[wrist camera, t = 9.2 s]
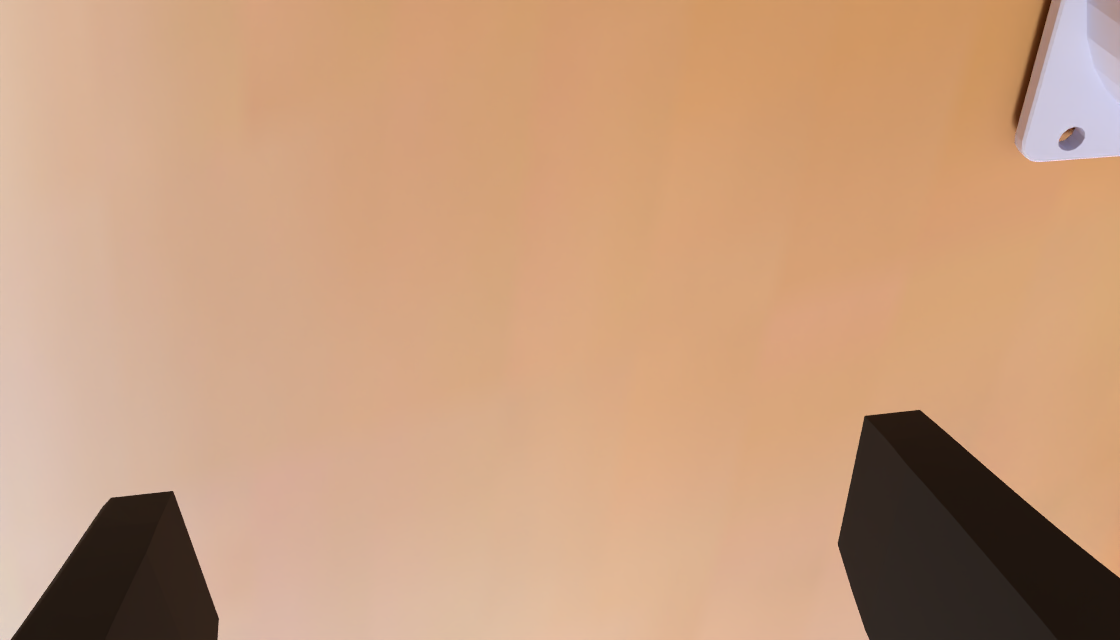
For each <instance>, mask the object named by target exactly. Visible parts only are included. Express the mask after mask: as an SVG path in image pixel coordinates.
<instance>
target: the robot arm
mask: <svg viewBox="0 0 1120 640" xmlns="http://www.w3.org/2000/svg"><path fill="white" fill-rule="evenodd" d="M1073 127H1075V129H1074V131H1073V133H1072V135H1071V136H1069V137H1068V138H1067V139H1066V140H1063V141H1060V142H1059V139H1060V137H1061V135H1062V134H1063V133H1064V132H1065V131H1066V130H1068V129H1070V128H1073ZM1015 144H1016V147H1017V149H1018V150H1019V151H1020V152H1021V153H1022V154H1023V155H1024V156H1025V157H1026V158H1027V159H1029V160H1030V161H1036V162H1046V161H1060V160H1073V159H1087V158H1100V157H1114V156H1120V0H1052V1H1051V5H1050V9H1049V12H1048V16H1047V20H1046V23H1045V27H1044V31H1043V34H1042V38H1041V42H1040V45H1039V49H1038V53H1037V56H1036V60H1035V64H1034V67H1033V71H1032V75H1031V78H1030V82H1029V86H1028V90H1027V93H1026V97H1025V101H1024V104H1023V108H1022V112H1021V115H1020V119H1019V123H1018V126H1017V130H1016V134H1015ZM838 547H839V550H840V553H841V556H842V560H843V563H844V566H845V569H846V573H847V576H848V579H849V582H850V586H851V589H852V592H853V595H854V598H855V601H856V604H857V607H858V610H859V613H860V616H861V619H862V622H863V625H864V628H865V631H866V633H867V635H868V637H869V640H1120V578H1119V577H1118V576H1116V575H1115V574H1114V573H1113V572H1111V571H1110V570H1109V569H1107V568H1106V567H1105V566H1104V565H1102V564H1101V563H1100V562H1099V561H1097V560H1096V559H1095V558H1094V557H1092V556H1091V555H1090V554H1089V553H1087V552H1086V551H1085V550H1084V549H1082V548H1081V547H1080V546H1079V545H1077V544H1076V543H1075V542H1074V541H1073V540H1071V539H1070V538H1069V537H1068V536H1067V535H1065V534H1064V533H1063V532H1062V531H1060V530H1059V529H1058V528H1057V527H1056V526H1054V525H1053V524H1052V523H1051V522H1050V521H1048V520H1047V519H1046V518H1045V517H1044V516H1042V515H1041V514H1040V513H1039V512H1038V511H1036V510H1035V509H1034V508H1033V507H1032V506H1031V505H1029V504H1028V503H1027V502H1026V501H1025V500H1023V499H1022V498H1021V497H1020V496H1019V495H1018V494H1017V493H1015V492H1014V491H1013V490H1012V489H1011V488H1010V487H1008V486H1007V485H1006V484H1005V483H1004V482H1003V481H1001V480H1000V479H999V478H998V477H997V476H996V475H994V474H993V473H992V472H991V471H990V470H989V469H988V468H986V467H985V466H984V465H983V464H982V463H981V462H979V461H978V460H977V459H976V458H975V457H974V456H973V455H971V454H970V453H969V452H968V451H967V450H966V449H965V448H963V447H962V446H961V445H960V444H959V443H958V442H957V441H955V440H954V439H953V438H952V437H951V436H950V435H949V434H947V433H946V432H945V431H944V430H943V429H942V428H940V427H939V426H938V425H937V424H936V423H935V422H933V421H932V420H931V419H930V418H929V417H928V416H926V415H925V414H924V413H923V412H922V411H920V410H915V411H906V412H897V413H887V414H878V415H869V416H865V417H864V422H863V427H862V431H861V436H860V441H859V446H858V450H857V455H856V460H855V465H854V469H853V474H852V479H851V484H850V488H849V493H848V498H847V503H846V507H845V512H844V517H843V522H842V526H841V531H840V536H839V541H838ZM218 622H219V618H218V615H217V612H216V610H215V607H214V604H213V601H212V598H211V596H210V593H209V590H208V587H207V584H206V582H205V579H204V576H203V573H202V570H201V568H200V565H199V562H198V559H197V556H196V554H195V551H194V548H193V545H192V543H191V540H190V537H189V534H188V531H187V529H186V526H185V523H184V520H183V517H182V515H181V512H180V509H179V506H178V503H177V501H176V498H175V495H174V492H173V491H170V492H160V493H151V494H142V495H133V496H124V497H114V498H110V499H109V501H108V502H107V503H106V504H105V505H104V506H103V507H102V509H101V510H100V512H99V513H98V514H97V516H96V517H95V519H94V520H93V522H92V523H91V525H90V526H89V528H88V529H87V531H86V532H85V534H84V535H83V537H82V538H81V540H80V541H79V542H78V544H77V545H76V547H75V548H74V550H73V551H72V553H71V554H70V556H69V557H68V559H67V560H66V562H65V563H64V565H63V566H62V568H61V569H60V570H59V572H58V573H57V575H56V576H55V578H54V579H53V581H52V582H51V584H50V585H49V586H48V588H47V589H46V591H45V592H44V594H43V595H42V596H41V598H40V599H39V601H38V602H37V604H36V605H35V606H34V608H33V609H32V611H31V612H30V614H29V615H28V616H27V618H26V619H25V621H24V622H23V624H22V625H21V626H20V628H19V629H18V630H17V632H16V633H15V634H14V636H13V637H12V639H11V640H217V638H218Z"/></svg>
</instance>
